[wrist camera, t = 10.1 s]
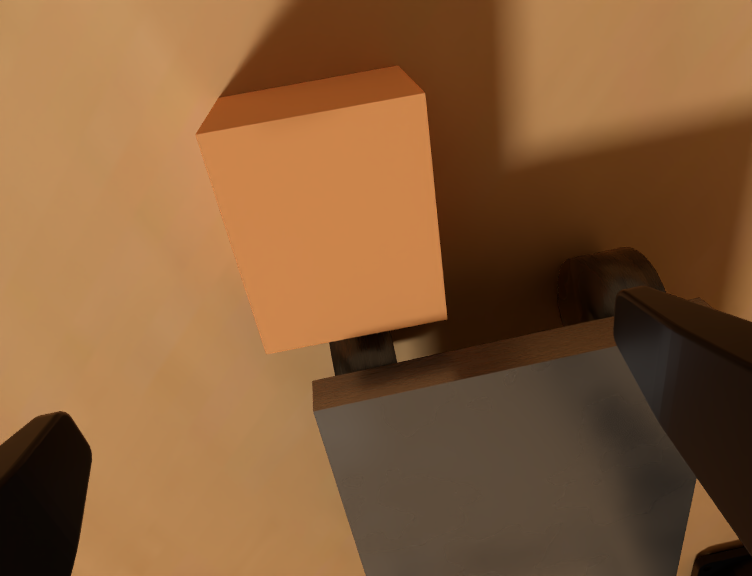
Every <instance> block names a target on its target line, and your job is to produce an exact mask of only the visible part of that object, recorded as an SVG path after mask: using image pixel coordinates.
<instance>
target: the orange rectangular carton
mask: <svg viewBox="0 0 752 576" xmlns="http://www.w3.org/2000/svg"><path fill="white" fill-rule="evenodd" d="M196 138H197V141H198V144H199V147H200V151H201V154H202V157H203V160H204V163H205V166H206V169H207V172H208V175H209V178H210V182H211V185H212V188H213V191H214V194H215V197H216V200H217V203H218V206H219V209H220V213H221V216H222V219H223V222H224V225H225V228H226V231H227V234H228V237H229V240H230V244H231V247H232V250H233V253H234V256H235V259H236V262H237V265H238V268H239V271H240V275H241V278H242V281H243V284H244V287H245V290H246V293H247V296H248V299H249V302H250V306H251V309H252V312H253V315H254V318H255V321H256V324H257V327H258V330H259V333H260V337H261V340H262V343H263V346H264V349H265V352H266V354H271V353H276V352H281V351H286V350H291V349H297V348H302V347H307V346H312V345H317V344H322V343H328V342H333V341H338V340H343V339H348V338H353V337H359V336H364V335H369V334H374V333H379V332H385V331H390V330H395V329H400V328H405V327H410V326H416V325H421V324H426V323H431V322H436V321H441V320H447V310H446V300H445V290H444V280H443V269H442V259H441V249H440V239H439V229H438V218H437V208H436V198H435V188H434V177H433V167H432V157H431V147H430V137H429V126H428V116H427V106H426V96H425V92H424V91H423V90H422V89H421V88H420V87H419V86H418V85H417V84H416V83H415V82H414V81H413V80H412V79H411V78H410V77H409V76H408V75H407V74H406V73H405V72H404V71H403V70H402V69H401V68H400V67H399V66H398V65H397V66H392V67H386V68H381V69H375V70H370V71H364V72H359V73H353V74H348V75H342V76H336V77H331V78H325V79H320V80H314V81H309V82H303V83H298V84H292V85H287V86H281V87H276V88H270V89H265V90H259V91H253V92H248V93H242V94H237V95H231V96H226V97H220V98H218V99H217V101H216V103H215V104H214V106H213V107H212V109H211V111H210V112H209V114H208V115H207V117H206V119H205V120H204V122H203V123H202V125H201V127H200V128H199V130H198V131H197V133H196Z"/></svg>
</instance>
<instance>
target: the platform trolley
mask: <svg viewBox="0 0 752 576" xmlns="http://www.w3.org/2000/svg"><path fill="white" fill-rule="evenodd" d="M638 286H647V287H650V288H653V289H656V290H659V291H662V292H665V293H666V291H665V289H664V286H663V284H662V282H661V280H660V277H659V276H658V274H657V272H656V270H655V269H654V267H653V266H652V265H651V263H650V262H649V261H648V260H647V258H646V257H645V256H644V255H642V254H641V253H640V252H639V251H637V250H635V249H633V248H630V247H622V248H618V249H613V250H608V251H604V252H599V253H594V254H590V255H585V256H580V257H576V258H571V259H567V260H566V261H564V263H563V264H562V266H561V268H560V271H559V276H558V287H557V289H558V303H559V310H560V315H561V320H562V324H563V327H561V328H556V329H552V330H547V331H542V332H538V333H533V334H529V335H524V336H519V337H515V338H510V339H505V340H501V341H496V342H491V343H487V344H482V345H477V346H473V347H468V348H463V349H459V350H454V351H450V352H445V353H440V354H436V355H431V356H426V357H422V358H417V359H412V360H408V361H403V362H398V363H397V359H396V355H395V350H394V346H393V341H392V337H391V332H390V331H385V332H379V333H374V334H369V335H364V336H359V337H353V338H348V339H343V340H338V341H333V342H329V344H330V350H331V356H332V361H333V367H334V372H335V376H333V377H329V378H324V379H319V380H315V381H312V385H313V412H314V415H315V418H316V421H317V424H318V428H319V431H320V434H321V437H322V440H323V443H324V446H325V449H326V453H327V456H328V459H329V462H330V465H331V468H332V471H333V474H334V478H335V481H336V484H337V487H338V490H339V493H340V496H341V499H342V503H343V506H344V509H345V512H346V515H347V518H348V521H349V524H350V528H351V531H352V534H353V537H354V540H355V543H356V546H357V549H358V553H359V556H360V559H361V562H362V565H363V568H364V571H365V574H366V576H676V574H677V570H678V565H679V560H680V555H681V550H682V545H683V541H684V536H685V531H686V526H687V521H688V517H689V512H690V507H691V502H692V497H693V493H694V488H695V483H696V478H697V477H696V476H695V475H694V473H693V472H692V470H691V469H690V467H689V466H688V465H687V463H686V462H685V460H684V459H683V457H682V456H681V455H680V453H679V452H678V450H677V449H676V447H675V446H674V444H673V443H672V442H671V440H670V439H669V437H668V436H667V434H666V433H665V431H664V430H663V428H662V427H661V425H660V424H659V422H658V421H657V419H656V417H655V415H654V414H653V412H652V410H651V408H650V407H649V405H648V403H647V401H646V399H645V397H644V395H643V394H642V392H641V390H640V388H639V386H638V384H637V383H636V381H635V379H634V377H633V375H632V373H631V371H630V370H629V368H628V366H627V364H626V362H625V360H624V359H623V357H622V355H621V353H620V351H619V349H618V347H617V345H616V343H615V340H614V335H613V326H614V312H615V300H616V296H617V293H618V292H620V291H621V290H624V289H628V288H633V287H638ZM688 301H691V302H694V303H697V304H700V305H703V306H706V307H709V308H712V307H711V306H709V305H708V304H707V303H706V302H705V301H703V300H702V299H701V298H696V299H691V300H688ZM712 309H713V308H712Z"/></svg>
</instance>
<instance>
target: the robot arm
mask: <svg viewBox="0 0 752 576" xmlns="http://www.w3.org/2000/svg"><path fill="white" fill-rule="evenodd" d="M613 335H614V340H615V343H616V345H617V347H618V349H619V351H620V353H621V355H622V357H623V359H624V360H625V362H626V364H627V366H628V368H629V370H630V371H631V373H632V375H633V377H634V379H635V381H636V383H637V384H638V386H639V388H640V390H641V392H642V394H643V395H644V397H645V399H646V401H647V403H648V405H649V407H650V408H651V410H652V412H653V414H654V415H655V417H656V419H657V421H658V422H659V424H660V425H661V427H662V428H663V430H664V431H665V433H666V434H667V436H668V437H669V439H670V440H671V442H672V443H673V444H674V446H675V447H676V449H677V450H678V452H679V453H680V455H681V456H682V457H683V459H684V460H685V462H686V463H687V465H688V466H689V467H690V469H691V470H692V472H693V473H694V475H695V476H696V477H697V479H698V480H699V482H700V483H701V485H702V486H703V487H704V489H705V490H706V492H707V493H708V495H709V496H710V497H711V499H712V500H713V502H714V503H715V505H716V506H717V508H718V509H719V510H720V512H721V513H722V515H723V516H724V518H725V519H726V520H727V522H728V523H729V525H730V526H731V528H732V529H733V530H734V532H735V533H736V535H737V536H738V538H739V539H740V540H741V542H742V543H743V545H744V546H745V547H743V548H739V549H734V550H730V551H725V552H721V553H716V554H712V555H707V556H703V557H700V558H699V559H697V560H696V561H695V562H694V565H693V570H692V574H691V576H752V322H750V321H747V320H745V319H742V318H739V317H736V316H733V315H730V314H727V313H724V312H721V311H718V310H715V309H712V308H709V307H706V306H703V305H700V304H697V303H694V302H691V301H688V300H686V299H683V298H680V297H677V296H674V295H671V294H668V293H665V292H662V291H659V290H656V289H653V288H650V287H647V286H638V287H633V288H628V289H624V290H621V291H620V292H618V293H617V296H616V300H615V312H614V326H613ZM91 463H92V453H91V449H90V446H89V444H88V442H87V441H86V439H85V438H84V436H83V435H82V433H81V431H80V430H79V428H78V427H77V425H76V424H75V422H74V421H73V419H72V418H71V416H70V415H69V414H67V413H66V412H62V411H59V412H54V413H49V414H45V415H40V416H38V417H35V418H34V419H33V420H31V421H30V422H29V423H28V424H26V425H25V426H24V427H23V428H21V429H20V430H19V431H18V432H16V433H15V434H14V435H13V436H11V437H10V438H9V439H8V440H7V441H5V442H4V443H3V444H2V445H0V576H71V573H72V569H73V566H74V561H75V557H76V553H77V549H78V544H79V538H80V533H81V526H82V520H83V514H84V507H85V501H86V495H87V488H88V482H89V476H90V469H91Z"/></svg>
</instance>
